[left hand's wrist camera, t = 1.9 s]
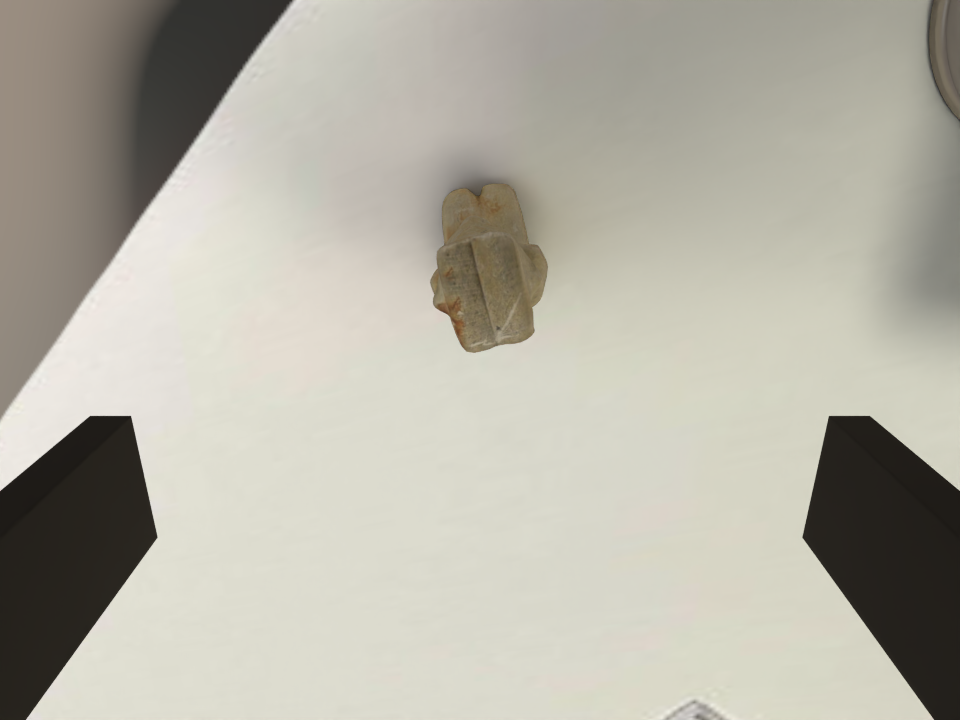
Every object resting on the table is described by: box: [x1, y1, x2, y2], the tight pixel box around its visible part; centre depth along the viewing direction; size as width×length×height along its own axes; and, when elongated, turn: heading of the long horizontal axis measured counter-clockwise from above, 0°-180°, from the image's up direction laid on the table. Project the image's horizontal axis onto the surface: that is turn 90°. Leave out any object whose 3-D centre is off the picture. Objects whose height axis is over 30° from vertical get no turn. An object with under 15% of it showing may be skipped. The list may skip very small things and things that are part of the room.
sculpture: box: [430, 184, 548, 353], centre depth 34 cm, size 6×7×15 cm
